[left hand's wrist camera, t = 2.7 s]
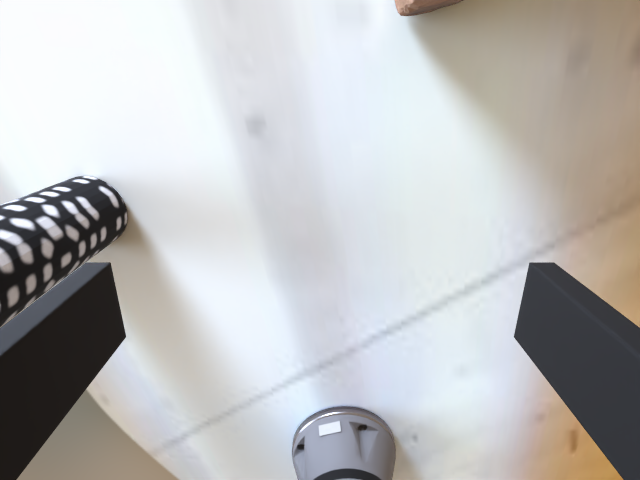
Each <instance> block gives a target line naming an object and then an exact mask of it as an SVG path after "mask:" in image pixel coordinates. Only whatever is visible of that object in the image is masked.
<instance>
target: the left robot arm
mask: <svg viewBox="0 0 640 480" xmlns="http://www.w3.org/2000/svg"><path fill="white" fill-rule="evenodd" d="M125 338H126V334H125V329H124V325H123V320H122V315H121V310H120V306H119V301H118V296H117V291H116V287H115V282H114V277H113V272H112V268H111V263H85V264H84V265H82V266H81V267H80V268H78V269H77V270H76V271H74V272H73V273H72V274H70V275H69V276H68V277H67V278H65V279H64V280H63V281H61V282H60V283H59V284H57V285H56V286H55V287H53V288H52V289H51V290H49V291H48V292H47V293H45V294H44V295H43V296H42V297H40V298H39V299H38V300H36V301H35V302H34V303H32V304H31V305H30V306H28V307H27V308H26V309H24V310H23V311H22V312H21V313H19V314H18V315H17V316H15V317H14V318H13V319H11V320H10V321H9V322H7V323H6V324H5V325H3V326H2V327H1V328H0V480H16V479H17V478H18V477H19V476H20V474H21V473H22V472H23V470H24V469H25V468H26V466H27V465H28V464H29V462H30V461H31V460H32V459H33V457H34V456H35V455H36V453H37V452H38V451H39V449H40V448H41V447H42V446H43V444H44V443H45V442H46V440H47V439H48V438H49V436H50V435H51V434H52V433H53V431H54V430H55V429H56V427H57V426H58V425H59V423H60V422H61V421H62V420H63V418H64V417H65V416H66V414H67V413H68V412H69V410H70V409H71V408H72V407H73V405H74V404H75V403H76V401H77V400H78V399H79V397H80V396H81V395H82V394H83V392H84V391H85V390H86V388H87V387H88V386H89V384H90V383H91V382H92V381H93V379H94V378H95V377H96V375H97V374H98V373H99V371H100V370H101V369H102V368H103V366H104V365H105V364H106V362H107V361H108V360H109V358H110V357H111V356H112V355H113V353H114V352H115V351H116V349H117V348H118V347H119V345H120V344H121V343H122V341H123V340H124V339H125ZM514 338H515V339H516V340H517V341H518V343H519V344H520V345H521V347H522V348H523V349H524V351H525V352H526V353H527V355H528V356H529V357H530V358H531V360H532V361H533V362H534V364H535V365H536V366H537V368H538V369H539V370H540V371H541V373H542V374H543V375H544V377H545V378H546V379H547V381H548V382H549V383H550V384H551V386H552V387H553V388H554V390H555V391H556V392H557V394H558V395H559V396H560V397H561V399H562V400H563V401H564V403H565V404H566V405H567V407H568V408H569V409H570V410H571V412H572V413H573V414H574V416H575V417H576V418H577V420H578V421H579V422H580V423H581V425H582V426H583V427H584V429H585V430H586V431H587V433H588V434H589V435H590V436H591V438H592V439H593V440H594V442H595V443H596V444H597V446H598V447H599V448H600V450H601V451H602V452H603V453H604V455H605V456H606V457H607V459H608V460H609V461H610V463H611V464H612V465H613V466H614V468H615V469H616V470H617V472H618V473H619V474H620V476H621V477H622V478H623V479H624V480H640V328H639V327H638V326H637V325H635V324H634V323H633V322H631V321H630V320H629V319H627V318H626V317H625V316H623V315H622V314H621V313H619V312H618V311H617V310H616V309H614V308H613V307H612V306H610V305H609V304H608V303H606V302H605V301H604V300H602V299H601V298H600V297H598V296H597V295H596V294H595V293H593V292H592V291H591V290H589V289H588V288H587V287H585V286H584V285H583V284H581V283H580V282H579V281H577V280H576V279H575V278H573V277H572V276H571V275H570V274H568V273H567V272H566V271H564V270H563V269H562V268H560V267H559V266H558V265H556V264H555V263H529V268H528V272H527V277H526V282H525V287H524V291H523V296H522V301H521V306H520V310H519V315H518V320H517V325H516V329H515V334H514ZM292 457H293V464H294V468H295V471H296V474H297V478H298V480H392V477H393V470H394V464H395V444H394V439H393V435H392V432H391V430H390V428H389V427H388V425H387V424H386V423H385V422H384V421H383V420H382V419H381V418H380V417H378V416H377V415H375V414H373V413H371V412H369V411H367V410H364V409H360V408H355V407H333V408H328V409H325V410H322V411H319V412H317V413H315V414H313V415H312V416H310V417H309V418H307V419H306V420H305V421H304V422H303V423H302V424H301V425H300V426H299V428H298V429H297V431H296V433H295V435H294V439H293V447H292Z"/></svg>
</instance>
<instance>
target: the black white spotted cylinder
mask: <svg viewBox="0 0 640 480" xmlns="http://www.w3.org/2000/svg"><path fill="white" fill-rule="evenodd" d="M126 224H127V210H126V206H125V204H124V202H123V200H122V198H121V196H120V195H119V194H118V192H117V191H116V190H115V189H114V188H113V187H111V186H110V185H109V184H107V183H106V182H104V181H102V180H100V179H97V178H93V177H87V176H80V177H75V178H72V179H69V180H66V181H63V182H61V183H58V184H55V185H53V186H50V187H47V188H45V189H42V190H40V191H37V192H34V193H32V194H29V195H26V196H24V197H21V198H18V199H16V200H13V201H10V202H8V203H5V204H2V205H0V327H1V326H2V325H3V324H5V323H6V322H7V321H9V320H10V319H11V318H13V317H14V316H15V315H17V314H18V313H19V312H21V311H22V310H23V309H25V308H26V307H27V306H29V305H30V304H31V303H32V302H34V301H35V300H36V299H38V298H39V297H40V296H42V295H43V294H44V293H46V292H47V291H48V290H50V289H51V288H52V287H54V286H55V285H56V284H58V283H59V282H60V281H62V280H63V279H64V278H66V277H67V276H68V275H69V274H71V273H72V272H73V271H75V270H76V269H77V268H79V267H80V266H81V265H83V264H84V263H85V262H87V261H88V260H89V259H91V258H92V257H93V256H95V255H96V254H97V253H99V252H100V251H101V250H102V249H104V248H105V247H106V246H108V245H109V244H110V243H112V242H113V241H114V240H116V239H117V238H118V237H119V236H120V235H121V234H122V233H123V231H124V230H125V227H126Z"/></svg>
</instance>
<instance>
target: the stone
mask: <svg viewBox="0 0 640 480" xmlns="http://www.w3.org/2000/svg"><path fill="white" fill-rule="evenodd" d="M461 1H463V0H395V4H396V8H397V11H398V13H399V14H400V15H401V16H414V15H419V14H423V13H427V12H431V11H433V10H436V9H438V8H441V7H445V6H450V5H453V4H456V3H458V2H461Z"/></svg>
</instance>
